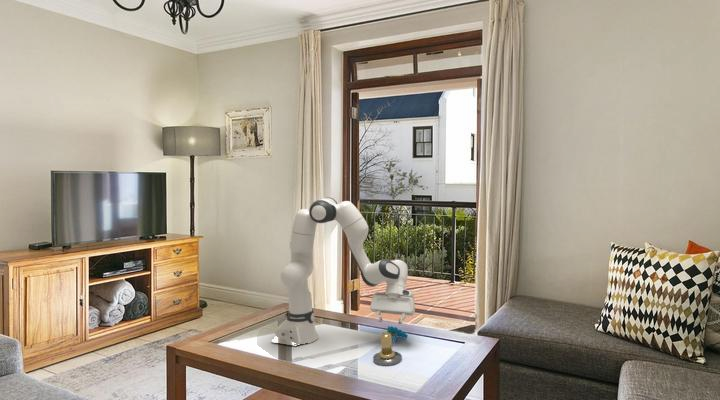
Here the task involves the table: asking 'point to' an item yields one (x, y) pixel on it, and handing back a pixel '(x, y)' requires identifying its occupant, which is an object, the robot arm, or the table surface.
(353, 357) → the table surface
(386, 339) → the gold flanged cylinder
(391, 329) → the teal coral
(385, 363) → the dark grey flat disc
